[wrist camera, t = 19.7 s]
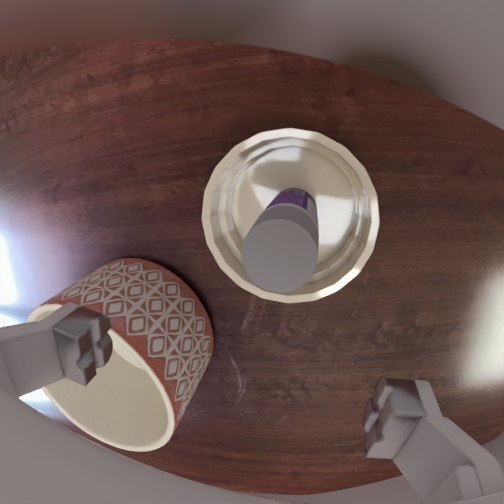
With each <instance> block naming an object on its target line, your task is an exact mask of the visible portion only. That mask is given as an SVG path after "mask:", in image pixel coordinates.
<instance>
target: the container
mask: <svg viewBox="0 0 504 504" xmlns="http://www.w3.org/2000/svg"><path fill="white" fill-rule="evenodd" d="M318 248H319V227H318V214H317V206H316V203H315V201H314V199H313V197H312V196H311V195H310V194H309V193H308V192H306V191H304V190H302V189H299V188H289V189H285V190H283V191H281V192H280V193H279V194H278V195H277V196H276V197H275V198H274V199H273V200H272V202H271V203H270V204H269V205H268V206H267V207H266V209H265V210H264V211H263V212H262V213H261V214H260V216H259V217H258V219H257V220H256V222H255V223H254V225H253V226H252V228H251V229H250V231H249V232H248V234H247V235H246V237H245V239H244V241H243V244H242V248H241V261H242V265H243V268H244V270H245V272H246V274H247V275H248V277H249V278H250V279H251V280H252V281H253V282H254V283H255V284H257V285H258V286H260V287H261V288H263V289H265V290H268V291H272V292H290V291H293V290H296V289H298V288H300V287H302V286H303V285H304V284H306V283H307V282H308V281H309V280H310V278H311V277H312V276H313V274H314V272H315V270H316V267H317V263H318Z"/></svg>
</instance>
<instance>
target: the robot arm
mask: <svg viewBox="0 0 504 504" xmlns="http://www.w3.org/2000/svg"><path fill="white" fill-rule="evenodd" d="M110 329H111V323H110V318H109V317H108V316H107V315H105V314H102V313H99V312H96V311H94V310H91V309H88V308H86V307H82V306H80V305H78V304H75V303H72V302H68V303H66V304H65V305H63V306H62V307H60V308H59V309H57V310H56V311H54V312H53V313H52V314H50V315H49V316H47V317H46V318H44V319H43V320H42V321H40V322H39V323H38V322H36V321H34V322H29V323H23V324H18V325H13V326H7V327H2V328H0V504H306V503H297V502H290V501H289V502H288V501H282V500H276V499H269V498H264V497H258V496H253V495H248V494H243V493H239V492H234V491H230V490H226V489H222V488H218V487H214V486H210V485H206V484H203V483H199V482H196V481H192V480H189V479H186V478H183V477H179V476H176V475H173V474H170V473H167V472H164V471H162V470H159V469H156V468H153V467H151V466H148V465H145V464H143V463H140V462H138V461H135V460H133V459H130V458H128V457H126V456H123V455H121V454H119V453H116V452H114V451H112V450H110V449H107V448H105V447H103V446H101V445H99V444H97V443H95V442H93V441H91V440H89V439H87V438H85V437H83V436H81V435H79V434H77V433H75V432H73V431H71V430H69V429H68V428H66V427H64V426H62V425H60V424H59V423H57V422H55V421H53V420H52V419H50V418H48V417H47V416H45V415H43V414H42V413H40V412H38V411H37V410H35V409H34V408H32V407H30V406H29V405H27V404H26V403H24V402H23V401H21V400H20V399H19V396H22V395H24V394H27V393H30V392H32V391H35V390H37V389H40V388H42V387H45V386H47V385H49V384H52V383H54V382H57V381H59V380H62V379H64V377H65V378H68V379H70V380H72V381H74V382H76V383H79V384H81V385H83V386H86V385H87V384H88V383H89V382H90V381H91V380H92V379H93V378H94V377H95V376H96V375H97V370H96V369H97V368H100V367H103V366H105V365H106V364H107V362H108V361H109V359H110V357H111V355H112V350H113V341H112V338H111V337H110V335H109V334H108V331H109V330H110ZM375 394H376V395H374V396H373V397H371V398H370V399H369V400H368V403H367V405H366V407H365V411H364V415H363V429H364V430H365V431H366V432H367V433H368V435H367V436H366V438H365V451H366V457H370V458H384V459H393V461H394V463H395V464H396V465H397V467H398V468H399V470H400V471H401V472H402V474H403V475H404V476H405V478H406V479H407V480H408V482H409V483H410V484H411V486H412V487H413V488H414V490H415V491H416V493H417V494H418V495H419V497H420V498H421V499H422V501H423V502H422V503H421V504H504V475H503V472H502V470H501V467H500V464H499V462H498V460H497V459H496V458H495V457H494V456H493V455H492V454H490V453H489V452H488V451H487V450H485V449H484V448H483V447H482V446H481V445H480V444H478V443H477V442H476V441H475V440H474V439H472V438H471V437H470V436H469V435H468V434H466V433H465V432H464V431H463V430H462V429H460V428H459V427H458V426H457V425H456V424H454V423H453V422H452V421H451V420H450V419H448V418H447V417H442V414H441V411H440V409H439V406H438V403H437V401H436V398H435V395H434V393H433V390H432V388H431V385H430V383H429V382H428V381H427V380H404V379H394V378H384V377H381V378H380V379H379V380H378V381H377V383H376V385H375Z"/></svg>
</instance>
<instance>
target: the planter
mask: <svg viewBox="0 0 504 504" xmlns="http://www.w3.org/2000/svg"><path fill="white" fill-rule="evenodd" d="M68 302H72V303H75V304H78V305H80V306H82V307H86V308H88V309H91V310H94V311H96V312H99V313H102V314H105V315H107V316H108V317H109V318H110V323H111V329H110V330H109V331H108V334H109V335H110V337H111V338H112V341H113V350H112V355H111V357H110V359H109V361H108V362H107V364H106V365H105V366H103V367H100V368H97V369H96V370H97V375H96V376H95V377H94V378H93V379H92V380H91V381H90V382H89V383H88V384H87V385H86V386H83V385H81V384H79V383H76V382H74V381H72V380H70V379H68V378H65V377H64V379H62V380H59V381H57V382H54V383H52V384H49V385H47V386H45V387H42V389H43V391H44V392H45V394H46V395H47V396H48V398H49V399H50V400H51V401H52V403H53V404H54V405H55V406H56V407H57V408H58V409H59V410H60V411H61V412H62V413H63V414H64V415H65V416H66V417H67V418H68V419H69V420H70V421H72V422H73V423H74V424H75V425H77V426H78V427H79V428H80V429H82V430H83V431H85V432H86V433H88V434H89V435H91V436H93V437H95V438H96V439H98V440H100V441H102V442H105V443H107V444H109V445H112V446H115V447H118V448H121V449H125V450H130V451H150V450H154V449H157V448H159V447H161V446H163V445H165V444H166V443H167V442H168V441H169V440H170V438H171V436H172V435H173V433H174V431H175V429H176V427H177V425H178V423H179V421H180V419H181V417H182V415H183V413H184V411H185V409H186V407H187V405H188V403H189V401H190V399H191V398H192V396H193V394H194V392H195V390H196V388H197V386H198V384H199V382H200V380H201V378H202V376H203V374H204V372H205V370H206V368H207V366H208V364H209V362H210V360H211V356H212V353H213V345H214V338H213V330H212V326H211V323H210V319H209V317H208V315H207V312H206V310H205V308H204V306H203V305H202V303H201V302H200V300H199V298H198V297H197V296H196V295H195V293H194V292H193V291H192V290H191V288H190V287H189V286H188V285H187V284H186V283H184V282H183V281H182V280H181V279H180V278H179V277H178V276H176V275H175V274H173V273H172V272H171V271H169V270H167V269H166V268H164V267H162V266H160V265H158V264H156V263H153V262H150V261H148V260H143V259H138V258H122V259H116V260H114V261H111V262H108V263H107V264H105V265H103V266H102V267H100V268H98V269H97V270H95V271H93V272H92V273H90V274H89V275H87V276H85V277H84V278H82V279H81V280H79V281H77V282H76V283H74V284H73V285H71V286H69V287H68V288H66V289H65V290H63V291H61V292H60V293H58V294H57V295H55V296H54V297H52V298H51V299H49V300H48V301H46V302H45V303H43V304H41V305H40V306H38V307H37V308H36V309H34V310H33V311H32V312H31V314H30V315H29V317H28V318H27V321H26V323H29V322H34V321H36V322H38V323H39V322H40V321H42V320H43V319H44V318H46V317H47V316H49V315H50V314H52V313H53V312H54V311H56V310H57V309H59V308H60V307H62V306H63V305H65V304H66V303H68Z"/></svg>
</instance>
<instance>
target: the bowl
mask: <svg viewBox="0 0 504 504" xmlns="http://www.w3.org/2000/svg"><path fill="white" fill-rule="evenodd" d="M289 188H299V189H302V190H304V191H306V192H308V193H309V194H310V195H311V196H312V197H313V199H314V201H315V203H316V206H317V214H318V227H319V248H318V263H317V267H316V270H315V272H314V274H313V276H312V277H311V278H310V280H309V281H308V282H307V283H306V284H304V285H303V286H302V287H300V288H298V289H296V290H293V291H290V292H272V291H268V290H265V289H263V288H261V287H260V286H258V285H257V284H255V283H254V282H253V281H252V280H251V279H250V278H249V277H248V275H247V274H246V272H245V270H244V268H243V265H242V261H241V248H242V244H243V241H244V239H245V237H246V235H247V234H248V232H249V231H250V229H251V228H252V226H253V225H254V223H255V222H256V220H257V219H258V217H259V216H260V214H261V213H262V212H263V211H264V210H265V209H266V207H267V206H268V205H269V204H270V203H271V202H272V200H273V199H274V198H275V197H276V196H277V195H278V194H279V193H280V192H281V191H283V190H285V189H289ZM202 223H203V228H204V233H205V238H206V242H207V245H208V247H209V249H210V251H211V252H212V254H213V256H214V258H215V260H216V261H217V263H218V265H219V267H220V268H221V269H222V270H223V271H224V272H225V273H226V274H227V275H228V276H229V277H230V278H231V279H232V280H233V281H234V282H235V283H236V284H237V285H238V286H240V287H241V288H243V289H245V290H247V291H249V292H251V293H253V294H255V295H257V296H259V297H261V298H264V299H269V300H274V301H279V302H284V303H296V302H307V301H315V300H318V299H320V298H323V297H325V296H327V295H330V294H332V293H335V292H337V291H338V290H340V289H341V288H342V287H344V286H345V285H346V284H347V283H348V282H350V281H351V280H352V279H353V278H354V277H356V276H357V275H358V274H359V273H360V271H361V270H362V268H363V267H364V265H365V263H366V262H367V260H368V259H369V257H370V255H371V254H372V252H373V250H374V246H375V242H376V238H377V234H378V229H379V225H380V224H379V223H380V219H379V208H378V198H377V193H376V191H375V189H374V186H373V184H372V182H371V180H370V177H369V175H368V173H367V171H366V169H365V167H364V166H363V165H362V164H361V163H360V162H359V161H358V160H357V159H356V158H355V157H354V156H353V154H352V153H351V152H350V151H349V150H348V149H347V148H346V147H344V146H343V145H341V144H339V143H338V142H336V141H334V140H332V139H330V138H328V137H326V136H324V135H323V134H321V133H318V132H313V131H308V130H302V129H295V128H283V129H277V130H271V131H265V132H261V133H258V134H256V135H254V136H252V137H250V138H248V139H247V140H245V141H243V142H241V143H239V144H237V145H236V146H235V147H233V148H232V149H231V150H230V152H229V153H228V154H227V155H226V156H225V157H224V158H223V159H222V160H221V161H220V162H219V163H218V165H217V166H216V167H215V169H214V171H213V173H212V175H211V178H210V180H209V182H208V184H207V187H206V189H205V191H204V199H203V209H202Z"/></svg>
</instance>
